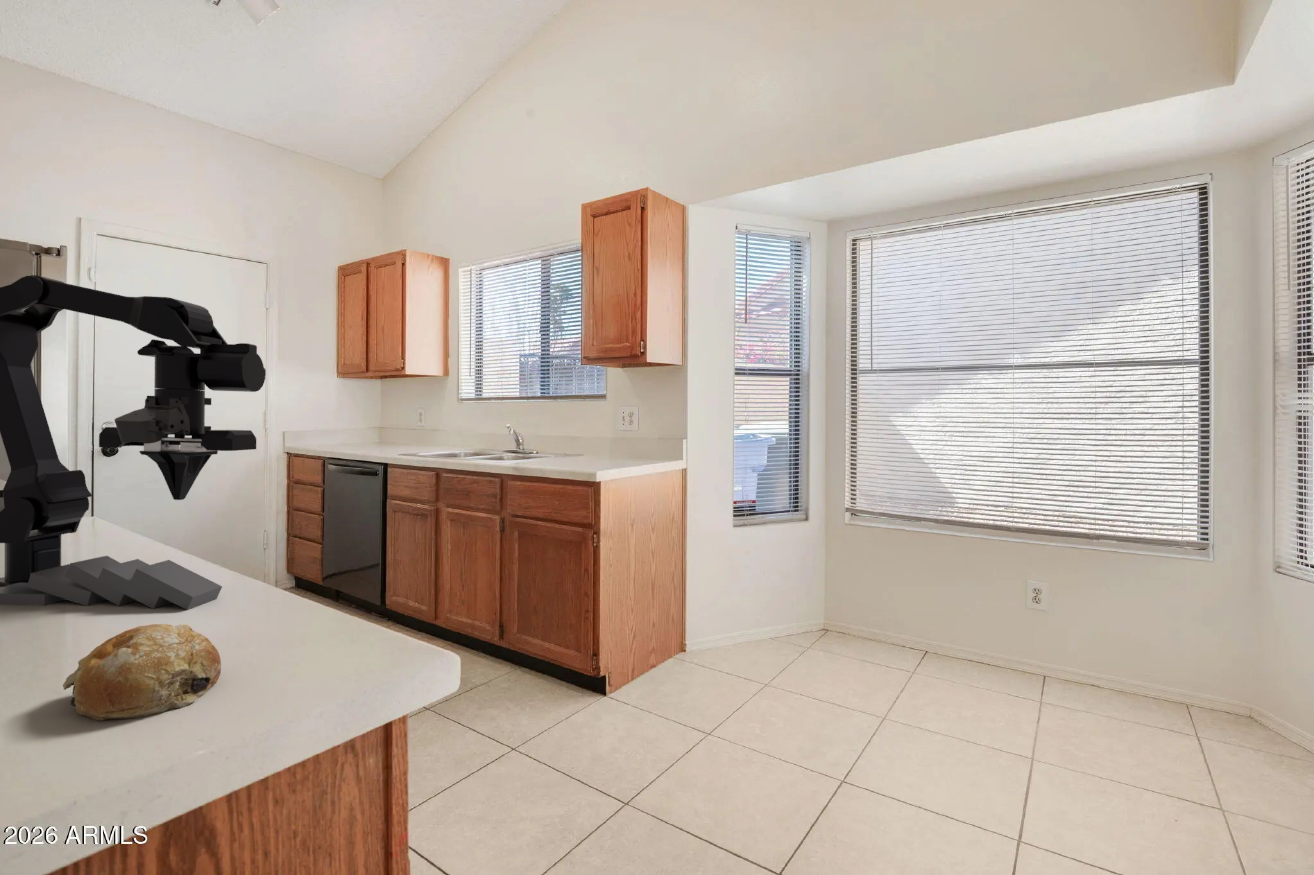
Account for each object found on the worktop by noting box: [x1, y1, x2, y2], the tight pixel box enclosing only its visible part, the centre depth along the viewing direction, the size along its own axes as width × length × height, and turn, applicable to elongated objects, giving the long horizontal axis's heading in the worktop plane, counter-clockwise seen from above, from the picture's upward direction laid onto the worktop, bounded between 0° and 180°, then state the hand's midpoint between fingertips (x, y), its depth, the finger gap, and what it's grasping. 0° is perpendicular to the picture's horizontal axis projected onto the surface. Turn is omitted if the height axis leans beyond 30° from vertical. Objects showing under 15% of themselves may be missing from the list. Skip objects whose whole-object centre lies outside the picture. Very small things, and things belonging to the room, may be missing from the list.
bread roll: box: [62, 623, 222, 721], centre depth 55 cm, size 10×10×8 cm
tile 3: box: [64, 555, 136, 606], centre depth 82 cm, size 2×5×8 cm
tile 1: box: [0, 583, 66, 607], centre depth 81 cm, size 2×5×8 cm
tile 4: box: [97, 558, 172, 610], centre depth 81 cm, size 2×5×8 cm
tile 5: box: [130, 559, 223, 611], centre depth 81 cm, size 2×5×8 cm
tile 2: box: [27, 563, 108, 607], centre depth 81 cm, size 2×5×8 cm
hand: (179, 499), depth 90 cm, fingers closed
